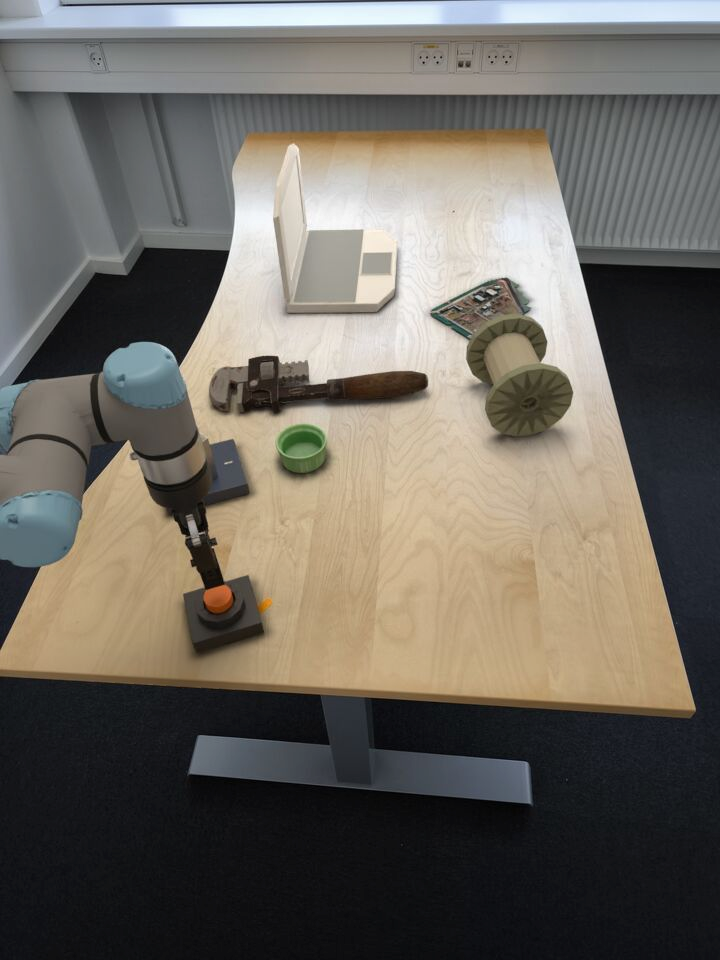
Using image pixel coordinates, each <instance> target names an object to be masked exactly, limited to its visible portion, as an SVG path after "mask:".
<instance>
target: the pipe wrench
mask: <svg viewBox="0 0 720 960" xmlns="http://www.w3.org/2000/svg"><path fill="white" fill-rule="evenodd" d="M247 361H248V362H247V365H243V366H230V365H229V366H223V367H220V368H219V369H217V370H216V371H215V372H214V373H213V375H212V377H211V379H210V382H209V386H208V397H209V399H210V401H211V402H212V404H213V406H215V407H216V408H217V409H219V410H220V411H221V412H230V411H231V409H230V407H231V396H232V391H233V390H234V389H236V390H237V391H236V405H237V409H238V413H248V412H249V411H251V410H252V409H253V408H255V407H256V408H257V407H261V406H271V408H272V412H273V413H279V412H281V406H282V405H284V404H285V403H292V402H301V401H311V400H320V399H321V400H322V399H328V401H329V402H333V401H342V400H343V401H345V400H364V399H365V400H367V399H381V398H382V399H384V398H396V397H402V396H408V395H413V394H417V393H418V392H421V391H424V390H426V389H427V388H428V387H429V376H428V374H426V373H424V372H419V371H414V370H393V371H384V372H383V371H382V372H376V373H367V374H361V375H360V374H359V375H355V376H347V377H340V378H330V379H326V383H316V384H315V383H314V384H303V385H290V384H291V383H293V384H296V383H297V382H299V383H304V381H305V383H308V382H310V370H309V368H310V367H309V361H308V360H307V359H306V360H304V361H302V360H298V361H297V362H296V361H291V363H289V361H286V362H284V363H282V362H280V358H279V356H278V355H260V356H259V355H258V356H254V357H251V358H248V359H247ZM284 383H285V384H287V386H281V385H284ZM288 384H289V385H288Z"/></svg>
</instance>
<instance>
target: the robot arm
mask: <svg viewBox="0 0 720 960" xmlns="http://www.w3.org/2000/svg"><path fill="white" fill-rule="evenodd" d="M102 368H103V369H102V371H100V372H98V373H96V372H95V373H90V374H80V375H71V376H63V377H55V378H46V379H45V378H44V379H34V380H29V381H28V382H22V383H18V384H13V385H8V386H5V387H2V388H0V446H1V447H2V448H3V450H4V451H5V452H6V454H0V560H3V561H6V560H7V561H9V562H11V563H12V565H14V566H17V567H23V568H39V567H40V568H41V567H46V566H50V565H53V564H55V563H57V562H59V561H61V560H62V559H64V558H65V557H66V556H67V555H68V554H69V553H70V551H71V550H72V549H73V546H74V544H75V541H76V538H77V533H78V529H79V524H80V521H81V520H82V516H83V511H84V510H83V507H82V506H83V499H84V493H85V485H86V477H87V473H88V468H89V464H90V458H91V457H90V456H91V451H92V447H93V446H100V445H106V444H115V443H117V442H122V441H128V442H129V445H130V446H131V449H132V451H131V452H130V453H129V459H130V460H131V461H134V462H135V461H137V462H138V466H139V468H140V471H141V473H142V476H143V480H144V483H145V485H146V488H147V490H148V493H149V495H150V499H152V501H153V502H154V503H156V504H157V505H158V506H160V507H162V508H165V509H167V508H169V509H171V511H172V514H171V515H172V517H173V520H174V522H175V523H177V525H178V527H179V531H180V533H181V535H183V536H184V537H185V538H184V539H185V541H184V544H185V547H186V548H187V550H188V551H189V553H190V555H191V558H192V559H191V558H190V559H189V561H190V567H191V568H195V569H196V571H197V573H198V574H199V575H200V578H201V581H202V583H203V588H205V590H208V589H212V588H215V587H219V586H222V585H225V583H224V581H225V580H224V576H223V574H222V570H221V567H220V564H219V560H218V557H217V555H216V550H215V548H214V547H215V546H218V541H217V538H216V537H212V538H211V537H210V535H209V531H210V530H209V523H208V522H209V521H208V518H207V515H206V514H207V509H206V505H204V502H203V500H202V499H203V498H204V497H205V496H206V495H207V494H208V492H209V490H210V488H211V485H212V476H211V472H210V469H209V465H208V462H207V459H206V453H205V450H204V446H203V443H202V440H201V436H200V433H201V432H200V430H199V427H198V425H197V422H196V419H195V415H194V411H193V408H192V404H191V401H190V400H191V399H190V397H189V391H188V387H187V383H186V380H185V379H184V377H183V375H182V371H181V370H180V366H179V363H178V362H177V359H176V356H175V355H174V354H173V352H172V351H171V350H170V349H169V348H167V347H166V346H165V345H162V344H160V343H157V342H153V341H152V342H151V341H139V342H132V343H129V345H128V346H126V347H119V348H117V349H115V351H113V352H111V354H110V355H109V356H108V357H106V360H105V362H104V363H103V367H102Z"/></svg>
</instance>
